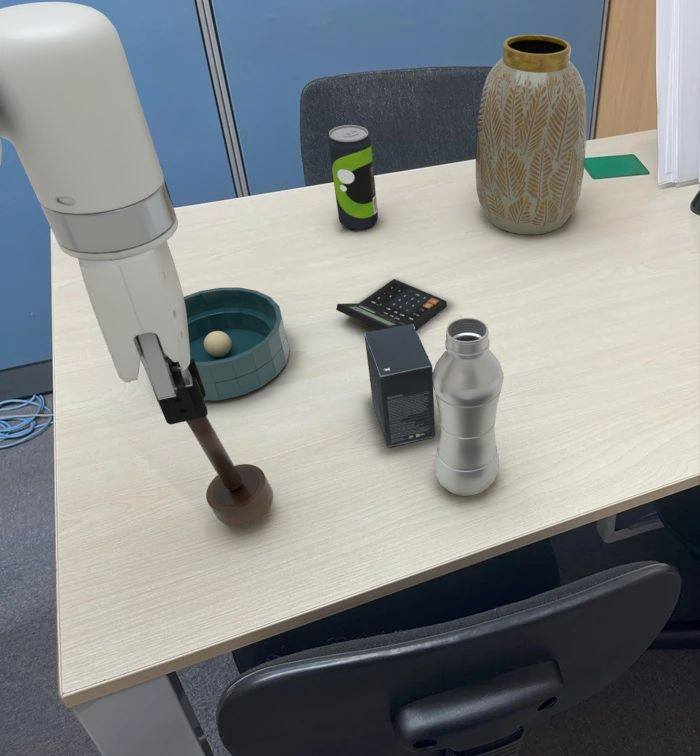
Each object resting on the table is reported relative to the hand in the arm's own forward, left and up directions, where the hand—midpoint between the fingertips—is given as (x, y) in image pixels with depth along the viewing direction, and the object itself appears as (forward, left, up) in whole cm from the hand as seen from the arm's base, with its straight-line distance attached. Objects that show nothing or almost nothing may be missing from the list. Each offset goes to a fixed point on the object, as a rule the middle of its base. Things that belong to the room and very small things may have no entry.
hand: (187, 408), depth 59 cm
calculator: (+24, +28, -16) cm, 40 cm away
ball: (+1, +26, -13) cm, 29 cm away
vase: (+52, +48, -16) cm, 72 cm away
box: (+20, +8, -16) cm, 27 cm away
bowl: (+2, +25, -15) cm, 29 cm away
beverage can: (+25, +54, -16) cm, 61 cm away
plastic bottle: (+24, -3, -16) cm, 29 cm away
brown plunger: (+2, 0, -13) cm, 14 cm away
